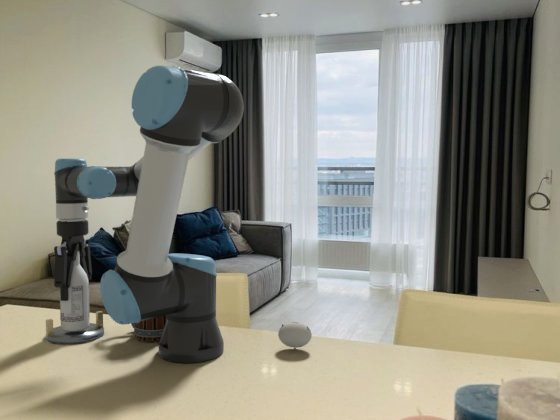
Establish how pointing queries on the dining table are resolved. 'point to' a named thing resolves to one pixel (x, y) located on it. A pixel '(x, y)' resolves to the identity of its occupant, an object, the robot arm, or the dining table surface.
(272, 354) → the dining table surface
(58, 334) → the disc
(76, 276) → the bath foam
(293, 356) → the dining table surface
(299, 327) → the figurine
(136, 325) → the mug
